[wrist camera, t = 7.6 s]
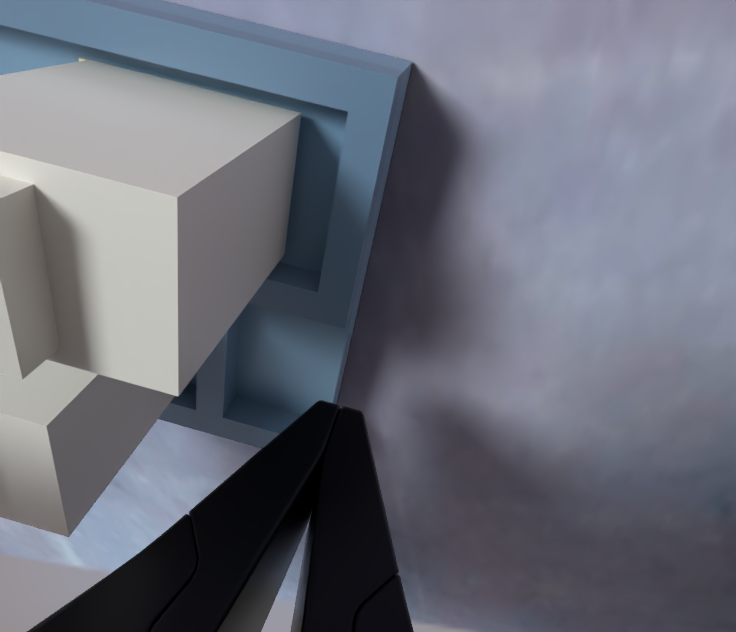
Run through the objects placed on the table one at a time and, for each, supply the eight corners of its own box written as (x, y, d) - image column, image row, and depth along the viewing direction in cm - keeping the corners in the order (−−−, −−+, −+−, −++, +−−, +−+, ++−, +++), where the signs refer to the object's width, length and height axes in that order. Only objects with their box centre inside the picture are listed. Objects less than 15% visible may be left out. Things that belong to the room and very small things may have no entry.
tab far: (188, 284, 10) (12, 459, 6) (187, 379, 12) (42, 572, 8) (20, 239, 10) (-248, 383, 7) (39, 338, 12) (-175, 507, 8)
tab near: (301, 113, 8) (142, 220, 4) (284, 254, 10) (151, 432, 6) (89, 59, 8) (-247, 117, 4) (103, 206, 10) (-147, 348, 6)
